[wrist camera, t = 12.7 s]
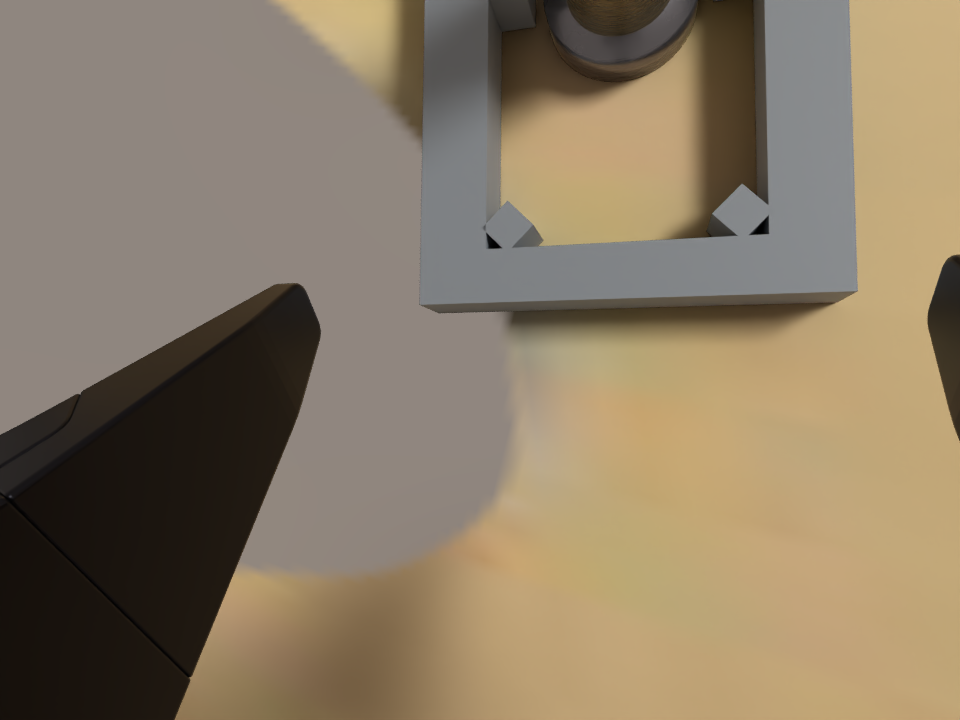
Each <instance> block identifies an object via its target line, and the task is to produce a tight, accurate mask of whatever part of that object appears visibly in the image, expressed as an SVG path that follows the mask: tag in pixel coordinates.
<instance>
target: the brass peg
mask: <svg viewBox="0 0 960 720" xmlns="http://www.w3.org/2000/svg"><path fill="white" fill-rule="evenodd" d="M543 1H544V8H545V13H546V17H547V21H548V24H549V28H550V32H551V36H552V39H553V42H554V45H555V47H556V49H557V51H558V53H559V54H560V56H561V57H562V59H563V60H564V61H565V62H566V63H567V64H568V65H569V66H570V67H571V68H573V69H574V70H575V71H577V72H578V73H580V74H582V75H584V76H586V77H589V78H591V79H595V80H599V81H607V82H619V81H627V80H631V79H635V78H639V77H641V76H644V75H646V74H649V73H651V72H652V71H654V70H656V69H658V68H659V67H661V66H662V65H664V64H665V63H666V62H667V61H669V60H670V59H671V58H672V57H673V56H674V55H675V54H676V53H677V52H678V51H679V49H680V48H681V47H682V45H683V44H684V43H685V41H686V40H687V38H688V36H689V34H690V32H691V30H692V27H693V25H694V22H695V18H696V14H697V6H698V0H543Z"/></svg>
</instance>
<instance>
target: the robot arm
mask: <svg viewBox="0 0 960 720" xmlns="http://www.w3.org/2000/svg"><path fill="white" fill-rule="evenodd" d="M928 329H929V333H930V337H931V341H932V345H933V349H934V353H935V356H936V360H937V364H938V368H939V372H940V376H941V380H942V384H943V388H944V392H945V396H946V400H947V404H948V408H949V411H950V415H951V418H952V422H953V425H954V428H955V430H956V433H957V436H958V438H959V441H960V255H953V256H951V257H950V258H948V259H947V260H946V262H945V263H944V265H943V267H942V270H941V273H940V276H939V279H938V282H937V285H936V288H935V291H934V294H933V297H932V301H931V304H930V307H929V310H928ZM320 335H321V330H320V324H319V321H318V319H317V317H316V314H315V312H314V309H313V307H312V305H311V303H310V300H309V297H308V295H307V293H306V291H305V289H304V288H303V286H301V285H300V284H298V283H287V284H276V285H273V286H272V287H270V288H268V289H266V290H264V291H262V292H261V293H259V294H257V295H255V296H253V297H251V298H250V299H248V300H246V301H244V302H242V303H241V304H239V305H237V306H235V307H233V308H232V309H230V310H228V311H226V312H224V313H223V314H221V315H219V316H217V317H215V318H213V319H212V320H210V321H208V322H206V323H204V324H203V325H201V326H199V327H197V328H196V329H194V330H192V331H190V332H188V333H186V334H185V335H183V336H181V337H179V338H177V339H175V340H174V341H172V342H170V343H168V344H166V345H165V346H163V347H161V348H159V349H157V350H156V351H154V352H152V353H150V354H148V355H147V356H145V357H143V358H141V359H139V360H138V361H136V362H134V363H132V364H130V365H128V366H127V367H125V368H123V369H121V370H119V371H118V372H116V373H114V374H112V375H110V376H109V377H107V378H105V379H103V380H101V381H99V382H98V383H96V384H94V385H92V386H90V387H89V388H87V389H85V390H83V391H82V392H81V394H76V395H74V396H72V397H70V398H69V399H67V400H65V401H63V402H61V403H59V404H58V405H56V406H54V407H52V408H51V409H48V410H47V411H45V412H43V413H41V414H39V415H37V416H36V417H34V418H32V419H30V420H28V421H26V422H24V423H22V424H21V425H19V426H17V427H15V428H13V429H11V430H9V431H7V432H5V433H3V434H1V435H0V720H175V717H176V715H177V712H178V710H179V707H180V705H181V702H182V700H183V698H184V695H185V693H186V690H187V688H188V685H189V683H190V678H189V677H191V676H192V675H193V672H194V670H195V667H196V665H197V662H198V660H199V658H200V655H201V653H202V650H203V648H204V645H205V643H206V640H207V638H208V636H209V633H210V631H211V628H212V626H213V623H214V621H215V618H216V616H217V613H218V611H219V609H220V606H221V604H222V601H223V599H224V596H225V594H226V591H227V589H228V587H229V584H230V582H231V579H232V577H233V574H234V572H235V569H236V567H237V565H238V562H239V560H240V557H241V555H242V552H243V550H244V547H245V545H246V542H247V540H248V538H249V535H250V533H251V530H252V528H253V525H254V523H255V520H256V518H257V515H258V513H259V511H260V508H261V506H262V503H263V501H264V498H265V496H266V494H267V491H268V489H269V486H270V484H271V481H272V479H273V476H274V474H275V472H276V469H277V466H278V464H279V462H280V459H281V457H282V454H283V452H284V449H285V447H286V445H287V442H288V439H289V437H290V435H291V432H292V430H293V427H294V425H295V422H296V419H297V417H298V414H299V411H300V407H301V405H302V401H303V398H304V394H305V391H306V387H307V384H308V380H309V377H310V373H311V370H312V366H313V363H314V359H315V355H316V352H317V348H318V345H319V341H320Z"/></svg>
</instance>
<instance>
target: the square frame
mask: <svg viewBox="0 0 960 720" xmlns="http://www.w3.org/2000/svg"><path fill="white" fill-rule="evenodd" d="M714 1H721V0H713V2H714ZM753 6H754V59H755V112H756V164H757V195H755V194H754V193H753V192H752V191H751V190H749V189H748V188H747V187H746V186H745V185H743V184H741V185H740V186H739V187H738V188H737V189H736V190H735V191H734V192H733V193H732V194H731V195H730V196H729V197H728V198H727V199H726V200H725V201H724V202H723V203H722V204H721V205H720V206H719V207H718V208H717V209H716V210H715V211H714V212H713V213H712V215H711V218H710V222H709V225H708V228H707V232H708V233H709V234H710V235H711V236H712V237H706V238H687V239H669V240H650V241H631V242H612V243H594V244H575V245H556V246H539V244H540V243H541V242H542V241H543V239H542V237H541V236H540V234H539V233H538V231H537V230H536V228H535V227H534V225H533V224H532V223H531V222H530V221H529V220H528V219H527V218H525V217H524V216H523V215H522V214H521V213H520V212H519V211H518V210H517V209H516V208H515V207H514V206H513V205H512V204H511V203H510V202H508V201H507V202H506V203H505V204H504V205H503V206H502V207H501V208H500V179H501V67H502V32H504V31H511V30H518V29H525V28H532V27H536V0H425V19H424V76H423V133H422V192H421V248H420V250H421V251H420V305H421V306H424V307H426V308H428V309H431V310H433V311H435V312H438V313H462V312H499V311H535V310H572V309H609V308H645V307H682V306H719V305H755V304H792V303H829V302H839V301H841V300H843V299H844V298H846V297H848V296H850V295H852V294H853V293H855V292H857V291H858V286H857V252H856V218H855V185H854V151H853V117H852V83H851V49H850V16H849V0H753ZM757 233H758V235H756V234H757ZM500 247H501V248H500Z"/></svg>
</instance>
